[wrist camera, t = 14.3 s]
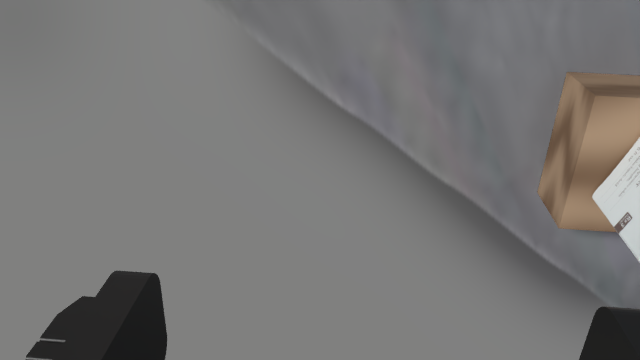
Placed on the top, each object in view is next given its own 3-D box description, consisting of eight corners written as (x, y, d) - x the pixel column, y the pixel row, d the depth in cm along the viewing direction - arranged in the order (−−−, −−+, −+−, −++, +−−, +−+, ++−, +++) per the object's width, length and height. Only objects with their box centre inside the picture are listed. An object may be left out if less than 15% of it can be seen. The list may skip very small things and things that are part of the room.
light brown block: (567, 72, 43) (595, 95, 38) (708, 79, 43) (757, 104, 38) (537, 192, 48) (559, 228, 43) (663, 200, 48) (701, 237, 43)
